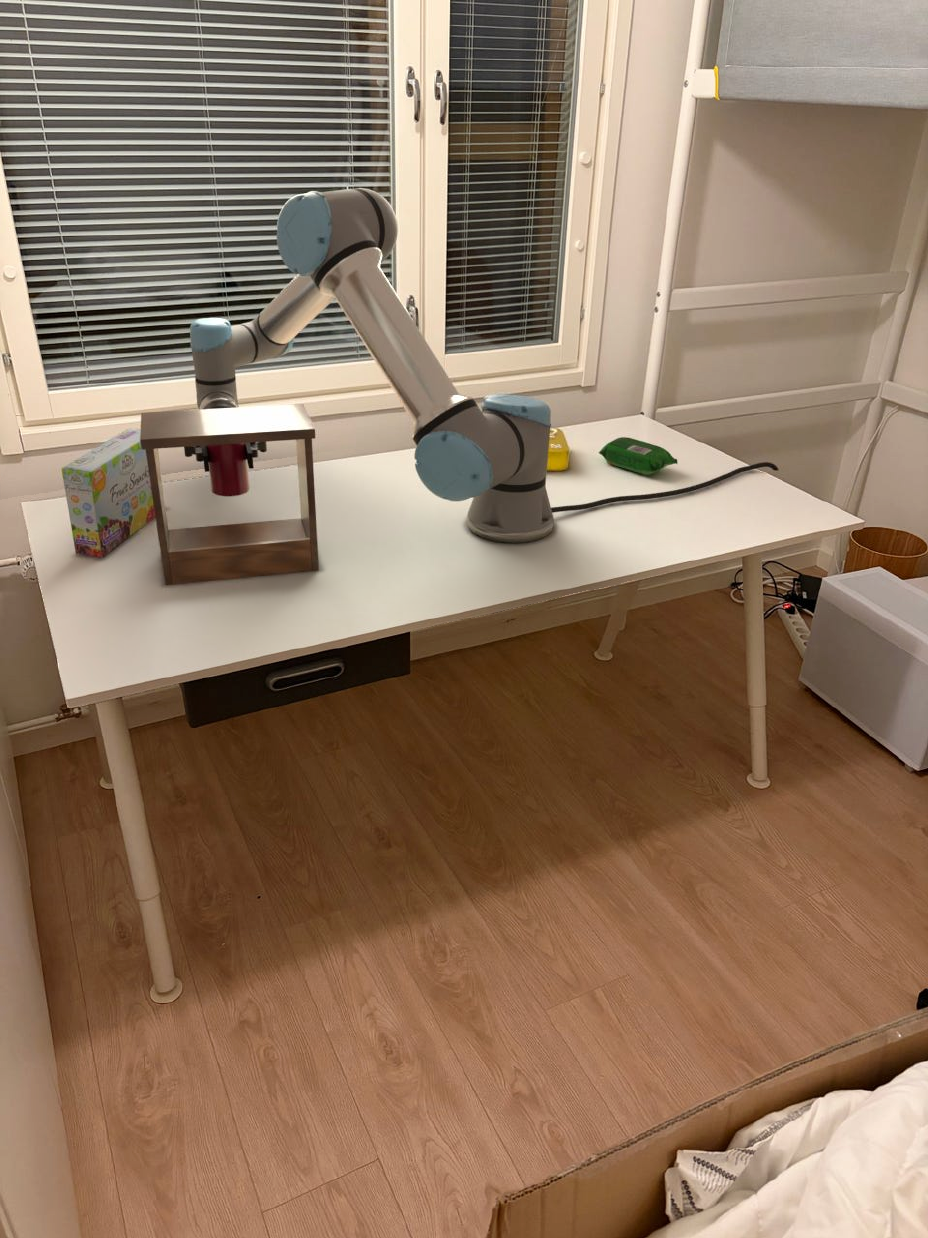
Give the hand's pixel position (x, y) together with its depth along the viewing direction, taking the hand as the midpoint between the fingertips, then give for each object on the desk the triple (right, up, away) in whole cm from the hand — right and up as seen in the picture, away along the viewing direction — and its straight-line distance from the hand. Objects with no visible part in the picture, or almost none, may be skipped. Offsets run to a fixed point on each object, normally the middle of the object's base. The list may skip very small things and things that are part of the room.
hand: (228, 462), depth 154 cm
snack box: (-20, -11, +7) cm, 24 cm away
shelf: (+2, -16, -2) cm, 17 cm away
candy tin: (-2, -3, +8) cm, 8 cm away
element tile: (+53, +8, +44) cm, 69 cm away
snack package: (+75, +5, +40) cm, 85 cm away
